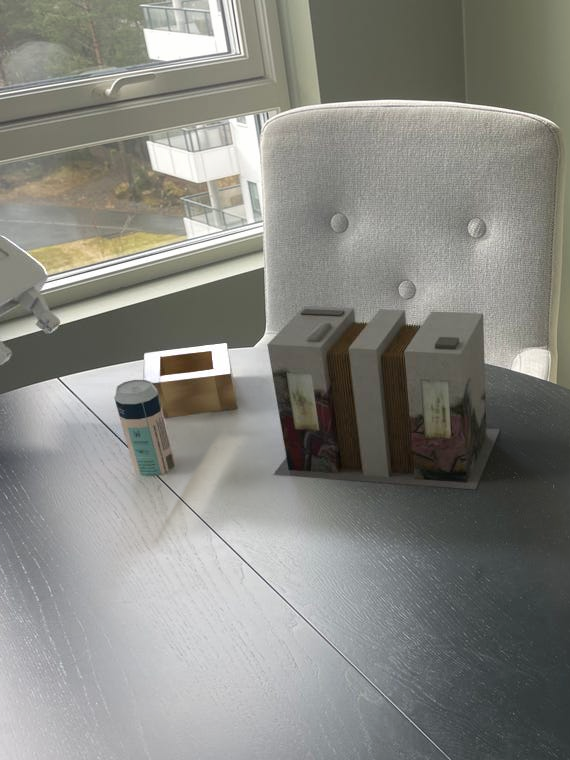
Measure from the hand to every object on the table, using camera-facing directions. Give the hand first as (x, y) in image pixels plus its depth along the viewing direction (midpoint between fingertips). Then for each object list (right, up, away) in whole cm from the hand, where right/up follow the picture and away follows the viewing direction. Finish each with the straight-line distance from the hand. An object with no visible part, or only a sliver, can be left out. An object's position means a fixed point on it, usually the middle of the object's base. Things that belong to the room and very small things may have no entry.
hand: (31, 343), depth 109 cm
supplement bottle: (+12, -14, +8) cm, 20 cm away
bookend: (+39, -10, +12) cm, 42 cm away
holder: (+10, +1, +27) cm, 29 cm away
